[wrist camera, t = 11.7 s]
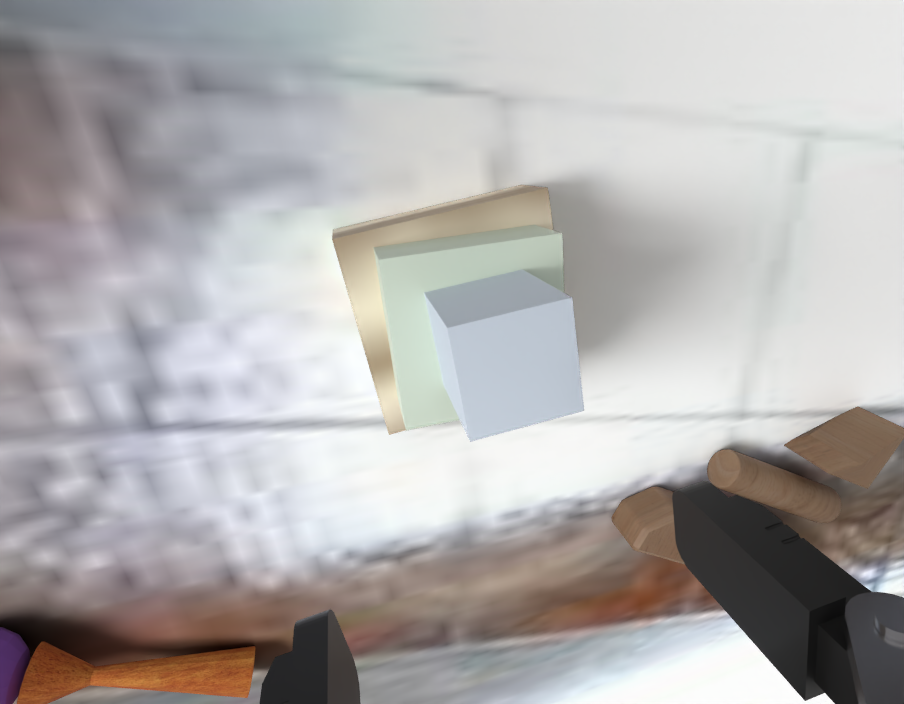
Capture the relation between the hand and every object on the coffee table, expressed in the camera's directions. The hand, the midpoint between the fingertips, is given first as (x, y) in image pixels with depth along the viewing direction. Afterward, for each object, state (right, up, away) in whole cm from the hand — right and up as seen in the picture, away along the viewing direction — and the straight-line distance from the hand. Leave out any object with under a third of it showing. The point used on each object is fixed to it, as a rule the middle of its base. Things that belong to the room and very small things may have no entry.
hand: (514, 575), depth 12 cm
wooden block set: (+23, -4, +33) cm, 40 cm away
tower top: (-1, +7, +18) cm, 20 cm away
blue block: (0, +6, +15) cm, 16 cm away
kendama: (-26, -16, +27) cm, 41 cm away
